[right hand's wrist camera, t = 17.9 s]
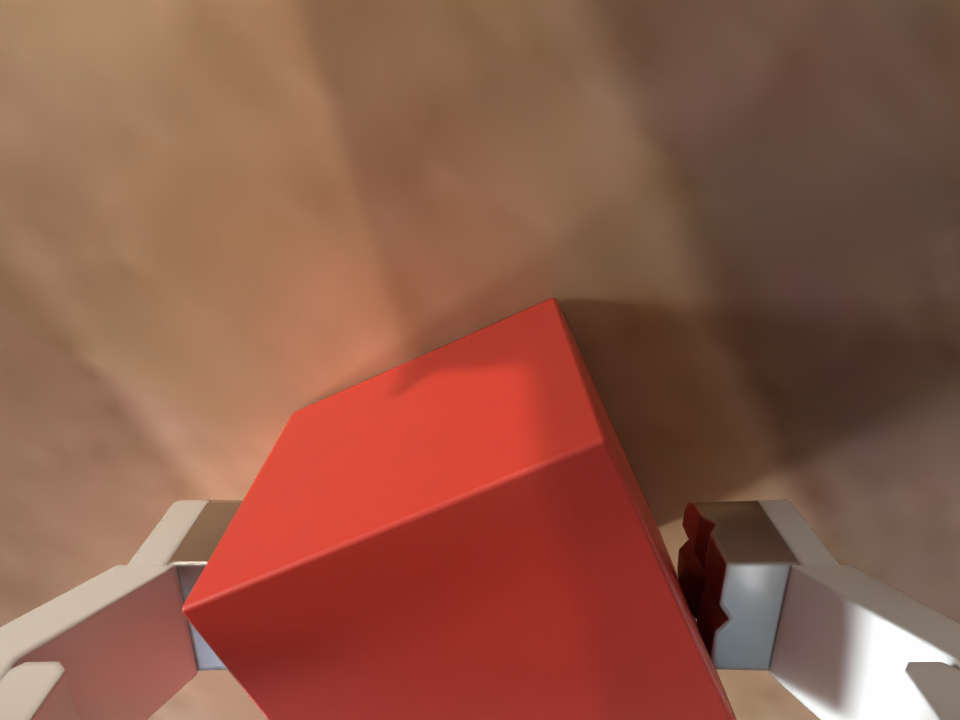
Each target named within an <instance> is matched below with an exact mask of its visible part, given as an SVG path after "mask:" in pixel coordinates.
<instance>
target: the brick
mask: <svg viewBox="0 0 960 720" xmlns="http://www.w3.org/2000/svg"><path fill="white" fill-rule="evenodd" d="M182 612H183V614H184V615H185V617H186V618H187V619H188V620H189V622H190V623H191V624H192V625H193V627H194V628H195V629H196V630H197V632H198V633H199V634H200V635H201V637H202V638H203V639H204V640H205V642H206V643H207V644H208V645H209V647H210V648H211V649H212V650H213V652H214V653H215V654H216V655H217V657H218V658H219V659H220V660H221V662H222V663H223V664H224V665H225V667H226V668H227V669H228V670H229V672H230V673H231V674H232V675H233V677H234V678H235V679H236V681H237V682H238V683H239V684H240V686H241V687H242V688H243V689H244V691H245V692H246V693H247V694H248V696H249V697H250V698H251V699H252V701H253V702H254V703H255V704H256V706H257V707H258V708H259V709H260V711H261V712H262V713H263V714H264V716H265V717H266V718H267V719H268V720H737V719H736V717H735V714H734V712H733V710H732V707H731V705H730V702H729V700H728V697H727V695H726V693H725V690H724V688H723V685H722V683H721V680H720V678H719V675H718V673H717V671H716V669H715V667H714V665H713V663H712V661H711V658H710V656H709V653H708V651H707V649H706V646H705V644H704V641H703V639H702V636H701V634H700V631H699V629H698V626H697V622H696V619H695V618H694V616H693V614H692V611H691V609H690V607H689V604H688V602H687V599H686V597H685V595H684V592H683V590H682V587H681V585H680V582H679V580H678V575H677V573H676V570H675V568H674V566H673V563H672V561H671V558H670V556H669V553H668V551H667V548H666V546H665V544H664V541H663V539H662V536H661V534H660V531H659V529H658V527H657V524H656V522H655V520H654V518H653V515H652V513H651V511H650V509H649V506H648V504H647V502H646V500H645V497H644V495H643V493H642V491H641V488H640V486H639V484H638V482H637V479H636V477H635V475H634V473H633V470H632V468H631V466H630V464H629V461H628V459H627V457H626V455H625V452H624V450H623V448H622V446H621V443H620V441H619V439H618V437H617V434H616V432H615V430H614V428H613V425H612V423H611V421H610V419H609V416H608V414H607V412H606V410H605V407H604V405H603V403H602V401H601V398H600V396H599V394H598V392H597V389H596V387H595V385H594V383H593V380H592V378H591V376H590V374H589V371H588V369H587V367H586V365H585V362H584V360H583V358H582V355H581V353H580V351H579V349H578V346H577V344H576V342H575V340H574V337H573V335H572V333H571V331H570V328H569V326H568V324H567V322H566V319H565V317H564V315H563V313H562V310H561V308H560V306H559V304H558V301H557V300H556V299H555V298H551V299H549V300H547V301H544V302H542V303H540V304H538V305H535V306H533V307H531V308H529V309H526V310H524V311H522V312H520V313H517V314H515V315H513V316H511V317H508V318H506V319H504V320H502V321H499V322H497V323H495V324H493V325H490V326H488V327H486V328H484V329H481V330H479V331H477V332H475V333H472V334H470V335H468V336H466V337H463V338H461V339H459V340H456V341H454V342H452V343H450V344H447V345H445V346H443V347H441V348H438V349H436V350H434V351H432V352H429V353H427V354H425V355H423V356H420V357H418V358H416V359H414V360H411V361H409V362H407V363H405V364H402V365H400V366H398V367H396V368H393V369H391V370H389V371H387V372H384V373H382V374H380V375H378V376H375V377H373V378H371V379H369V380H366V381H364V382H362V383H360V384H357V385H355V386H353V387H351V388H348V389H346V390H344V391H342V392H339V393H337V394H335V395H333V396H330V397H328V398H326V399H324V400H321V401H319V402H317V403H315V404H312V405H310V406H308V407H306V408H303V409H301V410H299V411H296V412H294V413H293V414H292V416H291V418H290V419H289V421H288V423H287V425H286V426H285V428H284V430H283V432H282V433H281V435H280V437H279V439H278V440H277V442H276V444H275V446H274V447H273V449H272V451H271V453H270V454H269V456H268V458H267V460H266V461H265V463H264V465H263V467H262V468H261V470H260V472H259V474H258V475H257V477H256V479H255V481H254V482H253V484H252V486H251V488H250V489H249V491H248V493H247V495H246V496H245V498H244V500H243V502H242V503H241V505H240V507H239V509H238V510H237V512H236V514H235V516H234V517H233V519H232V521H231V523H230V524H229V526H228V528H227V530H226V531H225V533H224V535H223V537H222V538H221V540H220V542H219V544H218V545H217V547H216V549H215V551H214V552H213V554H212V556H211V558H210V559H209V561H208V563H207V565H206V566H205V568H204V570H203V572H202V573H201V575H200V577H199V579H198V580H197V582H196V584H195V586H194V587H193V589H192V591H191V593H190V594H189V596H188V598H187V600H186V601H185V603H184V605H183V607H182Z"/></svg>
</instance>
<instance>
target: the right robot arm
mask: <svg viewBox="0 0 960 720" xmlns="http://www.w3.org/2000/svg"><path fill="white" fill-rule="evenodd" d="M242 502H243V501H235V500H213V501H211V500H180V501H177V502H175V503H174V504H173V505H172V506H171V507H170V509H169V510H168V511H167V513H166V514H165V515H164V517H163V518H162V519H161V521H160V522H159V523H158V525H157V526H156V527H155V529H154V530H153V531H152V533H151V534H150V535H149V537H148V538H147V539H146V541H145V542H144V543H143V545H142V546H141V547H140V549H139V550H138V551H137V553H136V554H135V555H134V557H133V558H132V559H131V561H130V562H129V563H128V565H116V566H115V567H113V568H111V569H109V570H107V571H105V572H103V573H101V574H99V575H98V576H96V577H94V578H92V579H90V580H88V581H86V582H84V583H83V584H81V585H79V586H77V587H75V588H73V589H71V590H69V591H67V592H66V593H64V594H62V595H60V596H58V597H56V598H54V599H52V600H51V601H49V602H47V603H45V604H43V605H41V606H39V607H37V608H35V609H34V610H32V611H30V612H28V613H26V614H24V615H22V616H20V617H19V618H17V619H15V620H13V621H11V622H9V623H7V624H5V625H3V626H2V627H0V720H147V719H148V718H149V717H150V716H151V715H152V714H154V713H155V712H156V711H157V710H158V709H159V708H160V707H161V706H162V705H163V704H165V703H166V702H167V701H168V700H169V699H170V698H171V697H172V696H173V695H175V694H176V693H177V692H178V691H179V690H180V689H181V688H182V687H183V686H185V685H186V684H187V683H188V682H189V681H190V680H191V679H192V678H193V677H194V676H196V675H197V671H199V670H228V669H227V668H226V667H225V665H224V664H223V663H222V662H221V660H220V659H219V658H218V657H217V655H216V654H215V653H214V652H213V650H212V649H211V648H210V647H209V645H208V644H207V643H206V642H205V640H204V639H203V638H202V637H201V635H200V634H199V633H198V632H197V630H196V629H195V628H194V627H193V625H192V624H191V623H190V622H189V620H188V619H187V618H186V617H185V615H184V614H183V612H182V607H183V605H184V603H185V601H186V600H187V598H188V596H189V594H190V593H191V591H192V589H193V587H194V586H195V584H196V582H197V580H198V579H199V577H200V575H201V573H202V572H203V570H204V568H205V566H206V565H207V563H208V561H209V559H210V558H211V556H212V554H213V552H214V551H215V549H216V547H217V545H218V544H219V542H220V540H221V538H222V537H223V535H224V533H225V531H226V530H227V528H228V526H229V524H230V523H231V521H232V519H233V517H234V516H235V514H236V512H237V510H238V509H239V507H240V505H241V503H242ZM683 527H684V530H685V532H686V534H687V536H688V538H689V540H688V541H687V542H686V543H685V544H684V545H683V546H682V547H681V548H680V549H679V558H678V580H679V582H680V585H681V587H682V590H683V592H684V595H685V597H686V599H687V602H688V604H689V607H690V609H691V611H692V614H693V616H694V618H696V619H697V626H698V629H699V631H700V634H701V636H702V639H703V641H704V644H705V646H706V649H707V651H708V653H709V656H710V658H711V661H712V663H713V665H714V667H715V669H732V670H768V671H769V674H770V675H772V676H773V677H774V678H775V679H776V680H777V681H778V682H779V683H781V684H782V685H783V686H784V687H785V688H786V689H787V690H788V691H789V692H791V693H792V694H793V695H794V696H795V697H796V698H797V699H798V700H799V701H801V702H802V703H803V704H804V705H805V706H806V707H807V708H808V709H810V710H811V711H812V712H813V713H814V714H815V715H816V716H817V717H818V718H820V719H821V720H960V623H959V622H957V621H955V620H953V619H951V618H949V617H948V616H946V615H944V614H942V613H940V612H938V611H936V610H934V609H932V608H930V607H929V606H927V605H925V604H923V603H921V602H919V601H917V600H915V599H913V598H912V597H910V596H908V595H906V594H904V593H902V592H900V591H898V590H896V589H894V588H893V587H891V586H889V585H887V584H885V583H883V582H881V581H879V580H877V579H876V578H874V577H872V576H870V575H868V574H866V573H864V572H862V571H860V570H858V569H857V568H855V567H853V566H851V565H839V563H838V562H837V561H836V559H835V558H834V557H833V555H832V554H831V553H830V551H829V550H828V549H827V548H826V546H825V545H824V544H823V542H822V541H821V540H820V538H819V537H818V536H817V535H816V533H815V532H814V531H813V529H812V528H811V527H810V525H809V524H808V523H807V522H806V520H805V519H804V518H803V516H802V515H801V514H800V512H799V511H798V510H797V508H796V507H795V506H794V505H793V503H792V502H790V501H788V500H786V499H783V500H755V501H729V502H688V504H687V506H686V509H685V512H684V519H683Z"/></svg>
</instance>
